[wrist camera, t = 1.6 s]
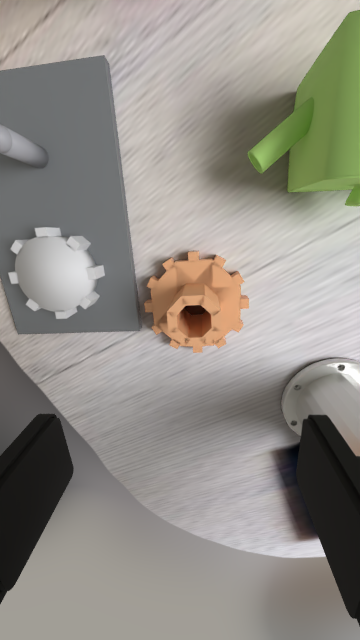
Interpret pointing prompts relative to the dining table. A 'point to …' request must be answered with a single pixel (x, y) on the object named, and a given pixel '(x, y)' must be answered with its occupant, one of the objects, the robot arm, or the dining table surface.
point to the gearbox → (323, 122)
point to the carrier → (64, 202)
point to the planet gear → (196, 301)
